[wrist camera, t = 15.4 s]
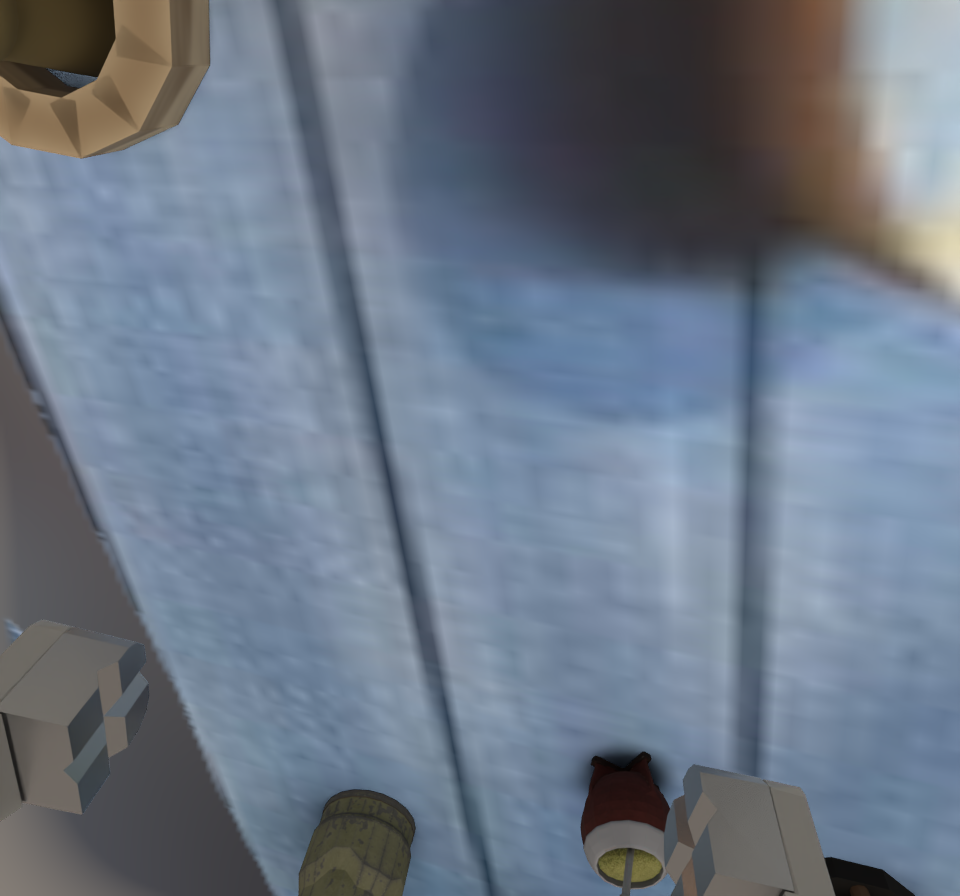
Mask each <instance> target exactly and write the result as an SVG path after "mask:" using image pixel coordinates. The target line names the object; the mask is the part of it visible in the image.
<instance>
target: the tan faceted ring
mask: <svg viewBox="0 0 960 896" xmlns="http://www.w3.org/2000/svg"><path fill="white" fill-rule="evenodd" d="M113 6H114V20H115V34H116V39H115V42H114V44H113V46H112V48H111V50H110V52H109V55H108V57H107V59H106V61H105V63H104V65H103V68H102V70H101V72H100V74H99V76H98V79H97V80H96V81H94V82H92V83H90V84H88V85H86V86H84V87H82V88H75V87H70V86H67V85H65V84H64V83H63V82H62V81H60V80H59V79H58V78H57V77H55V76H54V75H53V74H52V73H50V72H49V71H48V70H47V69H46V68H43V67H38V66H32V65H27V64H22V63H16V62H11V61H5V60H3V61H1V62H0V136H1V137H2V138H4V139H5V140H6V141H8V142H9V143H10V144H11V145H16V146H21V147H26V148H31V149H36V150H41V151H46V152H51V153H56V154H61V155H66V156H71V157H76V158H81V159H82V158H86V157H91V156H96V155H101V154H105V153H110V152H115V151H120V150H124V149H126V148H128V147H130V146H133V145H135V144H137V143H139V142H141V141H143V140H146V139H148V138H150V137H152V136H154V135H156V134H159V133H161V132H163V131H165V130H167V129H169V128H172V127H174V126H176V125H178V124H179V122H180V120H181V118H182V116H183V114H184V112H185V111H186V109H187V107H188V105H189V103H190V101H191V99H192V97H193V96H194V94H195V92H196V90H197V88H198V86H199V84H200V83H201V81H202V79H203V77H204V75H205V73H206V71H207V69H208V68H209V66H210V49H209V0H113Z"/></svg>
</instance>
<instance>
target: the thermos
mask: <svg viewBox="0 0 960 896" xmlns="http://www.w3.org/2000/svg"><path fill="white" fill-rule="evenodd" d="M415 829H416V828H415V823H414V819H413V817H412V816H411V814H410V813H409V812H408V810H407V809H406V808H405V807H404V806H402V805H401V804H400V803H399V802H397V801H396V800H394V799H392V798H390V797H388V796H386V795H384V794H380V793H377V792H373V791H369V790H350V791H344V792H340V793H338V794H337V795H335V796H333V797H331V798H330V800H329V801H328V802H327V803H326V805H325V807H324V810H323V815H322V818H321V821H320V824H319V825H318V827H317V828H316V829H315V830H314V833H313V836H312V839H311V841H310V844H309V847H308V850H307V853H306V855H305V858H304V861H303V864H302V867H301V870H300V872H299V895H298V896H402V894H403V890H404V886H405V881H406V877H407V872H408V868H409V863H410V859H411V853H410V847H411V844H412V841H413V837H414V833H415Z"/></svg>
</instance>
